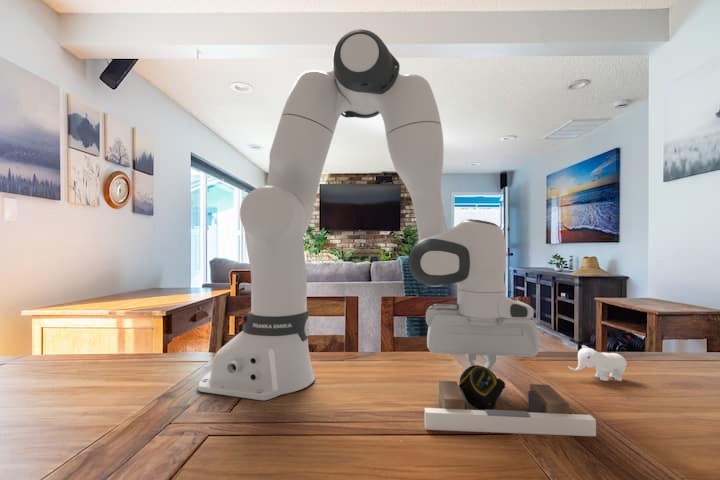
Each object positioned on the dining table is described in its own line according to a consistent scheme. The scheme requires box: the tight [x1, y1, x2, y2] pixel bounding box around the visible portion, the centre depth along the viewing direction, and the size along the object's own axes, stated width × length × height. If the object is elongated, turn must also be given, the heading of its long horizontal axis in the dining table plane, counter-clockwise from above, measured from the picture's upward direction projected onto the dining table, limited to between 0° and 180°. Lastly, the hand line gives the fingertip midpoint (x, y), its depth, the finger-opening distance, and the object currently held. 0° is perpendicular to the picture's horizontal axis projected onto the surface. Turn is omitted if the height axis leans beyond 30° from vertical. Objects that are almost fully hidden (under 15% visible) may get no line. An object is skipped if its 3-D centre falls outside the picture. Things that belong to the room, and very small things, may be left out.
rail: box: [424, 380, 597, 437], centre depth 57 cm, size 24×8×4 cm, turn 84°
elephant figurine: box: [567, 344, 628, 382], centre depth 74 cm, size 7×12×6 cm, turn 90°
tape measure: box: [458, 364, 507, 410], centre depth 61 cm, size 7×7×4 cm
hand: (480, 377), depth 69 cm, fingers closed
